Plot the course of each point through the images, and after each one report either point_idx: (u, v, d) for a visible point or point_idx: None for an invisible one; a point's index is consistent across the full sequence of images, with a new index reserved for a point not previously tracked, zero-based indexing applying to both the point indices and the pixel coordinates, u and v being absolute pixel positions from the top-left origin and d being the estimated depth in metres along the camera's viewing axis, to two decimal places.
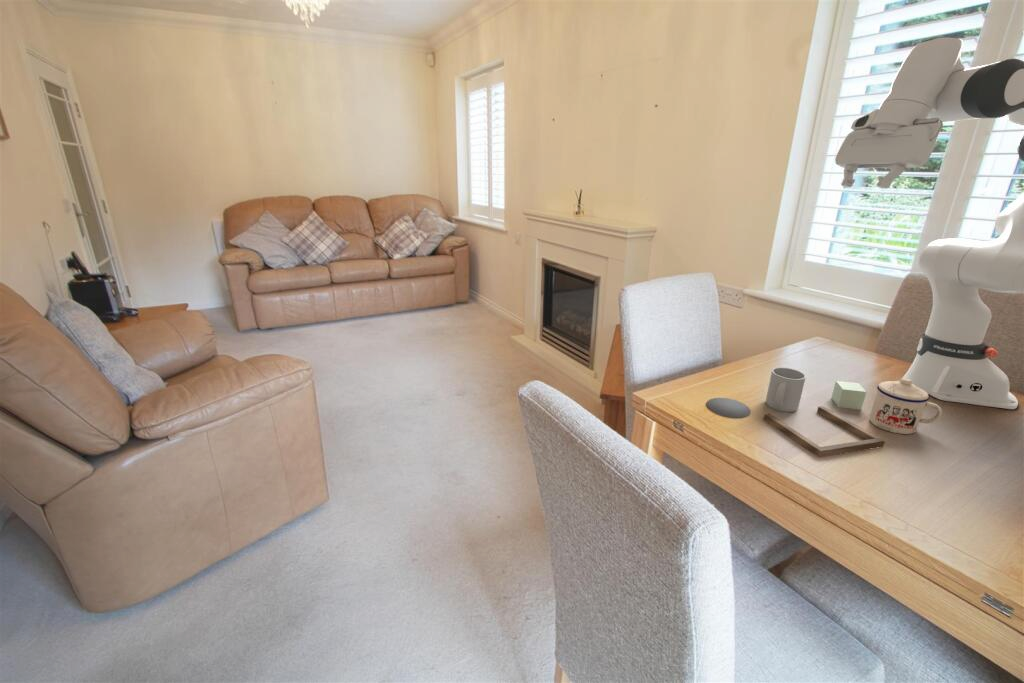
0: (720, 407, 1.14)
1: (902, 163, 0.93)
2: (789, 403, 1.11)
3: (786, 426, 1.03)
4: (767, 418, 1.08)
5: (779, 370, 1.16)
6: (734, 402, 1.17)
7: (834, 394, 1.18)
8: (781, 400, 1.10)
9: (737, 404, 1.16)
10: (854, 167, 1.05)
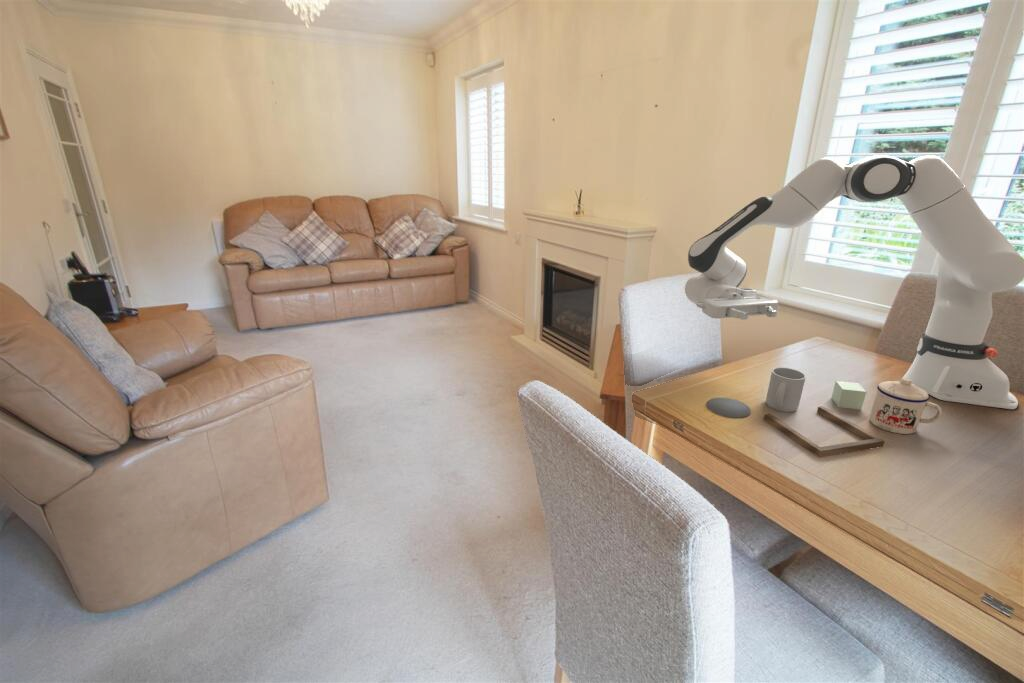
0: (720, 407, 1.14)
1: (722, 315, 1.21)
2: (789, 403, 1.11)
3: (786, 426, 1.03)
4: (767, 418, 1.08)
5: (779, 370, 1.16)
6: (733, 401, 1.17)
7: (834, 394, 1.18)
8: (781, 400, 1.10)
9: (737, 403, 1.16)
10: (763, 309, 1.23)
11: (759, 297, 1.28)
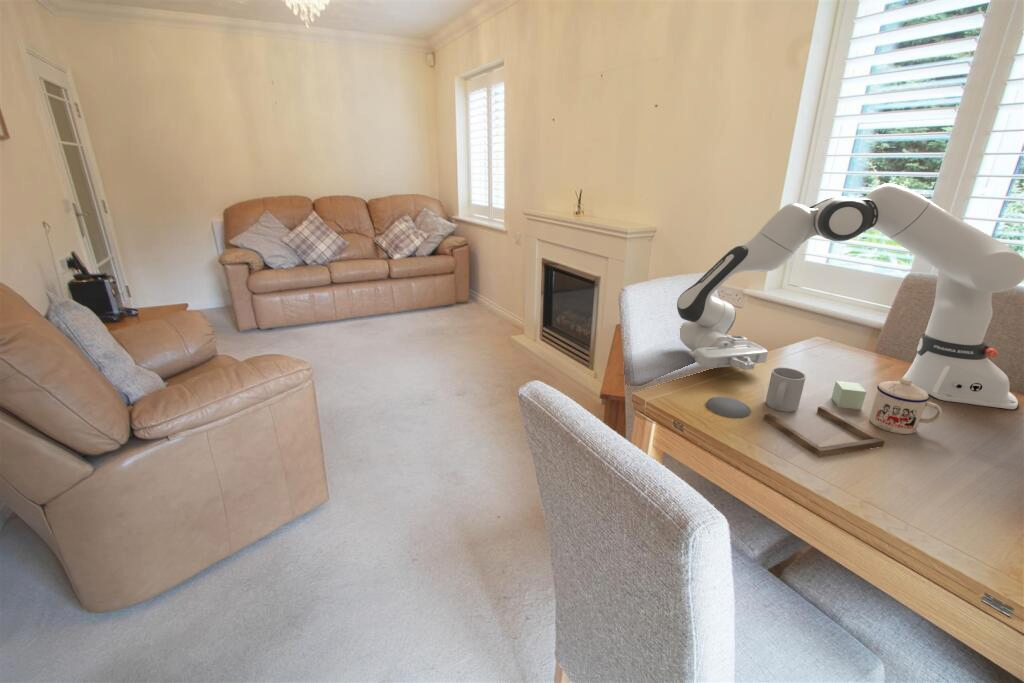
0: (721, 407, 1.14)
1: (714, 366, 1.27)
2: (789, 403, 1.11)
3: (786, 426, 1.03)
4: (767, 418, 1.08)
5: (779, 370, 1.16)
6: (731, 400, 1.17)
7: (834, 394, 1.18)
8: (781, 400, 1.10)
9: (735, 402, 1.16)
10: (742, 360, 1.28)
11: (749, 345, 1.33)
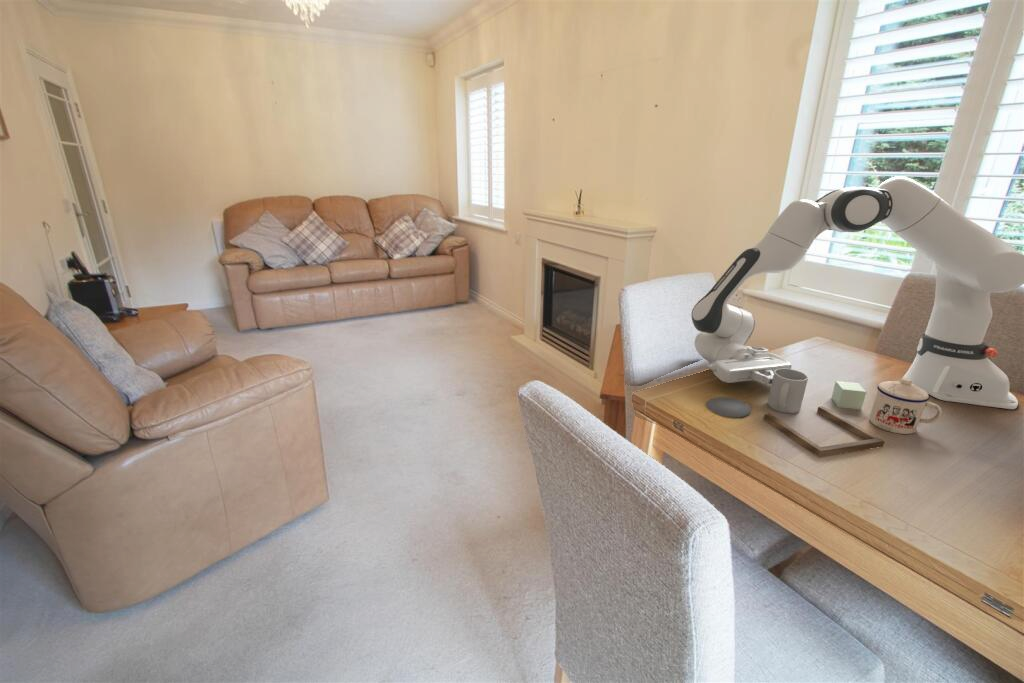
0: (723, 408, 1.13)
1: (734, 380, 1.19)
2: (791, 404, 1.11)
3: (786, 426, 1.03)
4: (767, 418, 1.08)
5: (781, 371, 1.15)
6: (727, 399, 1.18)
7: (834, 394, 1.18)
8: (784, 401, 1.09)
9: (731, 400, 1.17)
10: (764, 373, 1.20)
11: (771, 358, 1.26)
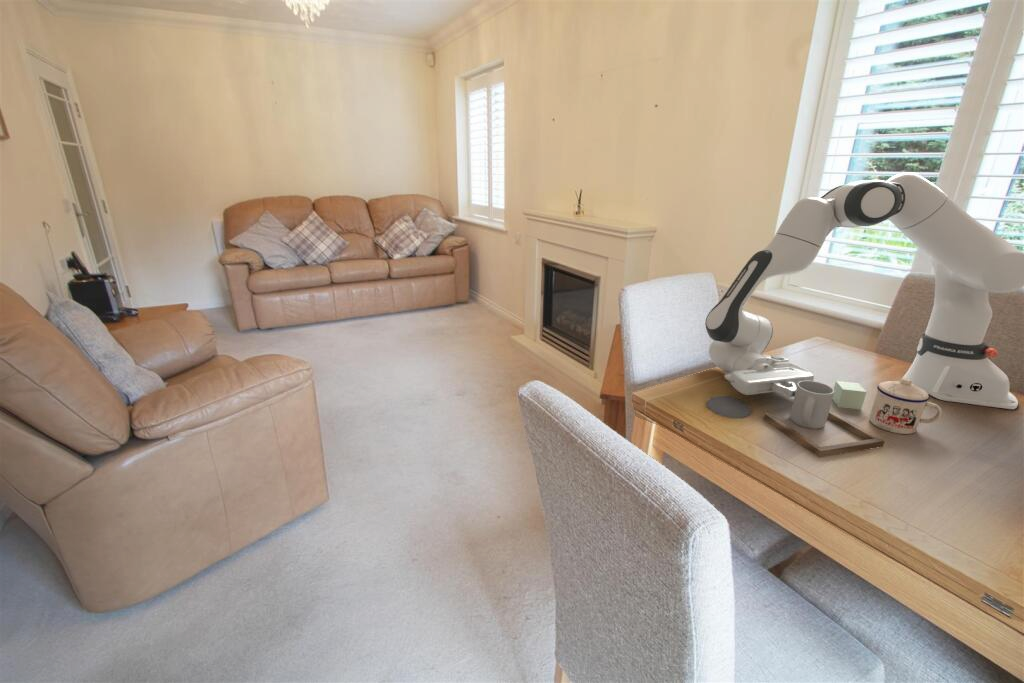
0: (725, 409, 1.13)
1: (754, 392, 1.12)
2: (816, 419, 1.04)
3: (786, 426, 1.03)
4: (767, 418, 1.08)
5: (804, 384, 1.08)
6: (724, 398, 1.18)
7: (834, 394, 1.18)
8: (809, 416, 1.02)
9: (728, 399, 1.17)
10: (786, 385, 1.14)
11: (792, 368, 1.19)
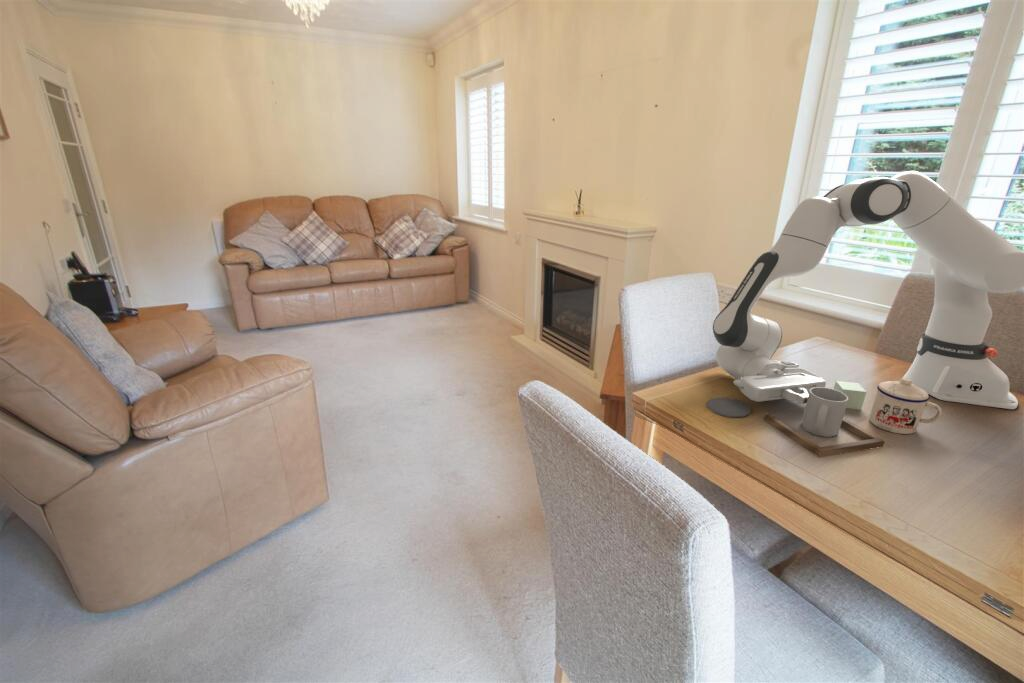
0: (726, 409, 1.13)
1: (764, 398, 1.09)
2: (830, 427, 1.01)
3: (786, 426, 1.03)
4: (767, 418, 1.08)
5: (817, 390, 1.05)
6: (720, 400, 1.18)
7: None
8: (822, 425, 0.99)
9: (725, 400, 1.18)
10: (797, 391, 1.10)
11: (803, 373, 1.16)
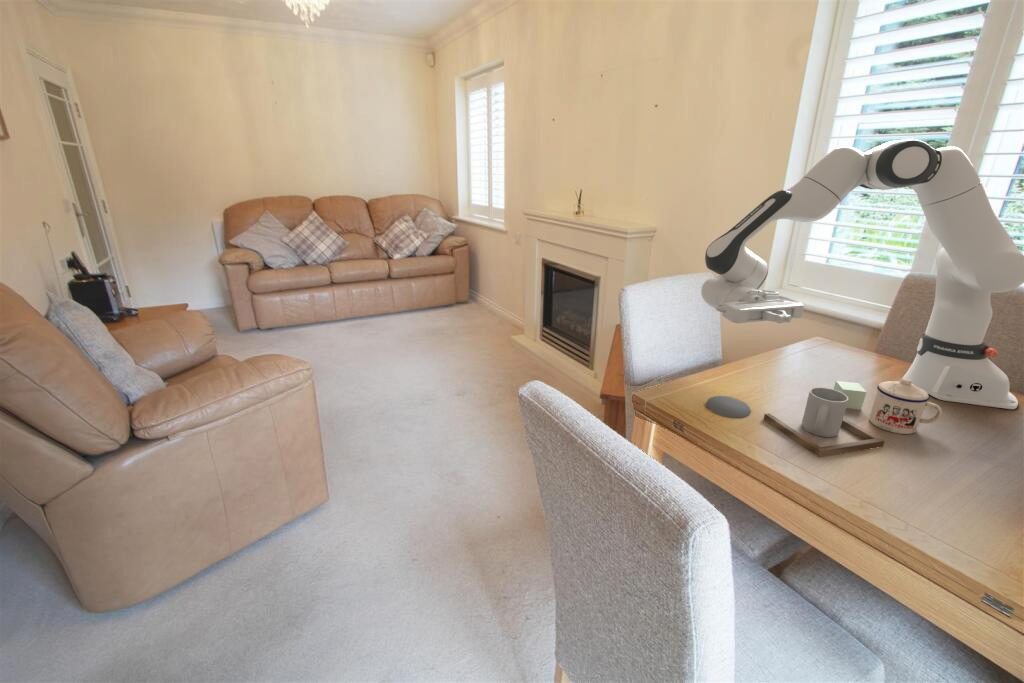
0: (731, 410, 1.12)
1: (745, 320, 1.14)
2: (830, 427, 1.01)
3: (786, 426, 1.03)
4: (767, 418, 1.08)
5: (817, 391, 1.05)
6: (715, 400, 1.17)
7: None
8: (822, 425, 0.99)
9: (718, 399, 1.17)
10: (776, 314, 1.15)
11: (783, 300, 1.20)
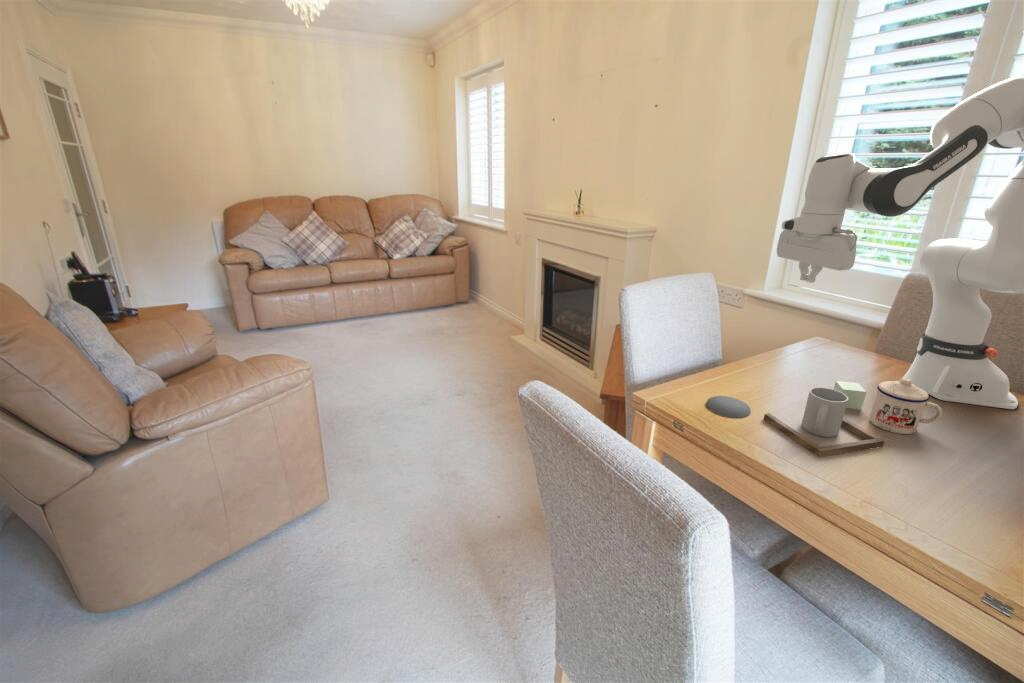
0: (735, 410, 1.13)
1: None
2: (830, 427, 1.01)
3: (786, 426, 1.03)
4: (767, 418, 1.08)
5: (817, 391, 1.05)
6: (712, 402, 1.16)
7: None
8: (822, 425, 0.99)
9: (714, 401, 1.16)
10: None
11: None
